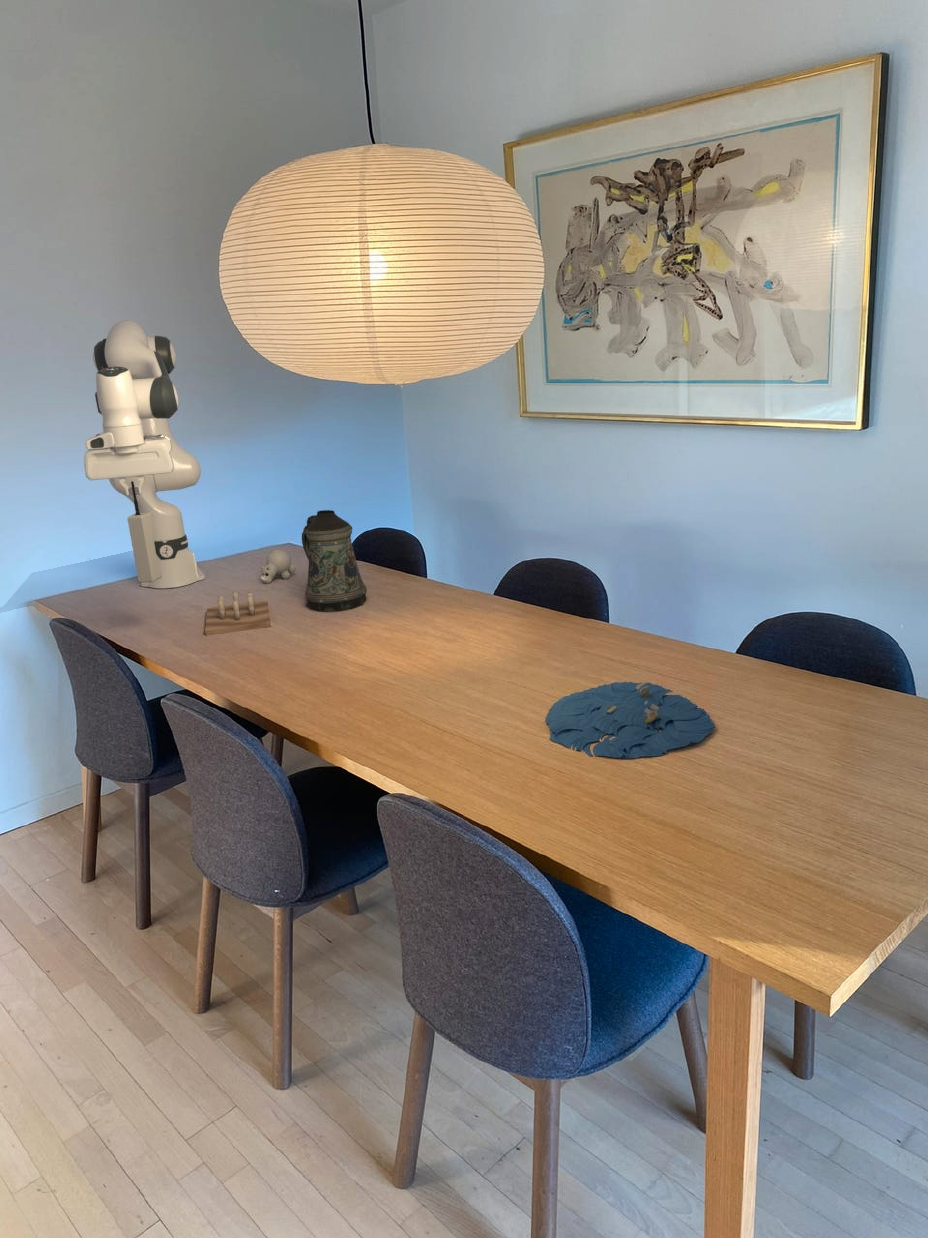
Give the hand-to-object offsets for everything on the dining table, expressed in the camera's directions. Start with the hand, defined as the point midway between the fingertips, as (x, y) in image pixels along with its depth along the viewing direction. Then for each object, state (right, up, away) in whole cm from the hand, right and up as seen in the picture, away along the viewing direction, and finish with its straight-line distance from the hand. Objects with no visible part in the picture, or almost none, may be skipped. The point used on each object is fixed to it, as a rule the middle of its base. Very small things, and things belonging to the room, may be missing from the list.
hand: (134, 494), depth 218 cm
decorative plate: (+110, -49, -57) cm, 134 cm away
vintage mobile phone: (+2, -21, +6) cm, 22 cm away
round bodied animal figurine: (+24, -19, +51) cm, 59 cm away
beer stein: (+45, -26, +24) cm, 57 cm away
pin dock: (+21, -30, +15) cm, 40 cm away
